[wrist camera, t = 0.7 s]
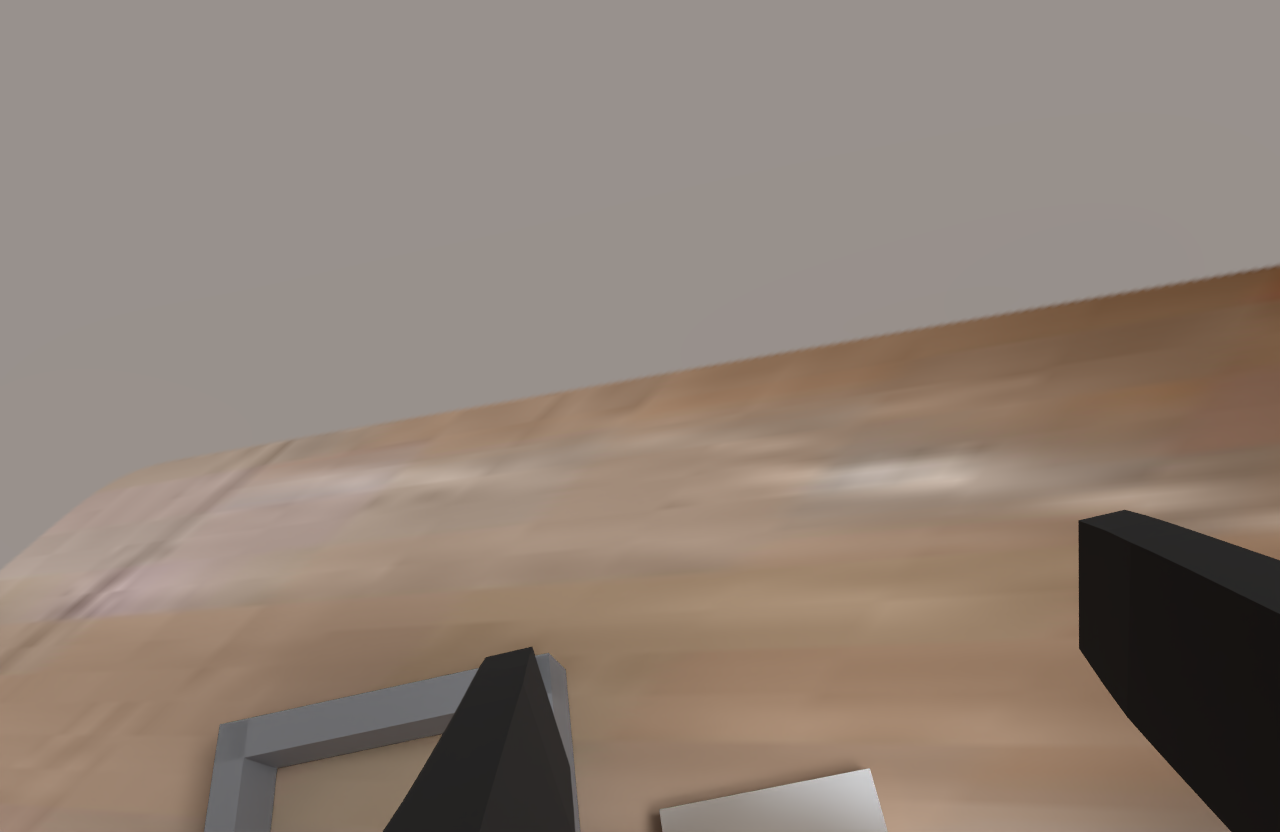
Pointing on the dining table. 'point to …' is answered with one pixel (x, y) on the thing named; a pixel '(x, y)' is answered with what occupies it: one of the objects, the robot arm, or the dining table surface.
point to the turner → (787, 808)
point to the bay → (344, 739)
